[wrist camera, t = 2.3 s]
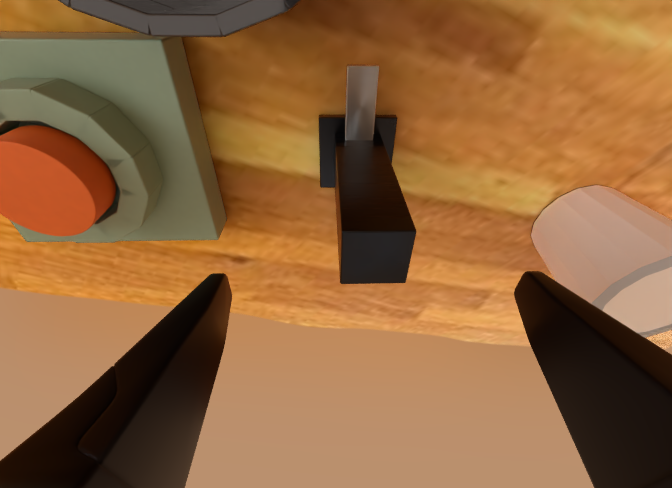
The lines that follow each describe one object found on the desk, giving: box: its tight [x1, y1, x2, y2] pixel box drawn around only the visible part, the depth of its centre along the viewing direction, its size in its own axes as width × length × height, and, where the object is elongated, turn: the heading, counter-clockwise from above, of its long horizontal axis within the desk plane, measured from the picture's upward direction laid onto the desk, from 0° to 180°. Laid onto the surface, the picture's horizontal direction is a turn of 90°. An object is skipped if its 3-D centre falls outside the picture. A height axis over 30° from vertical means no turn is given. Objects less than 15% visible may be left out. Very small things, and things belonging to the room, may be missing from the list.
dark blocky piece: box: [319, 65, 416, 284], centre depth 14 cm, size 9×4×9 cm, turn 179°
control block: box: [0, 32, 227, 243], centre depth 16 cm, size 11×10×4 cm
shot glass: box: [531, 185, 672, 338], centre depth 19 cm, size 7×7×7 cm
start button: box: [0, 125, 116, 236], centre depth 14 cm, size 4×4×2 cm
